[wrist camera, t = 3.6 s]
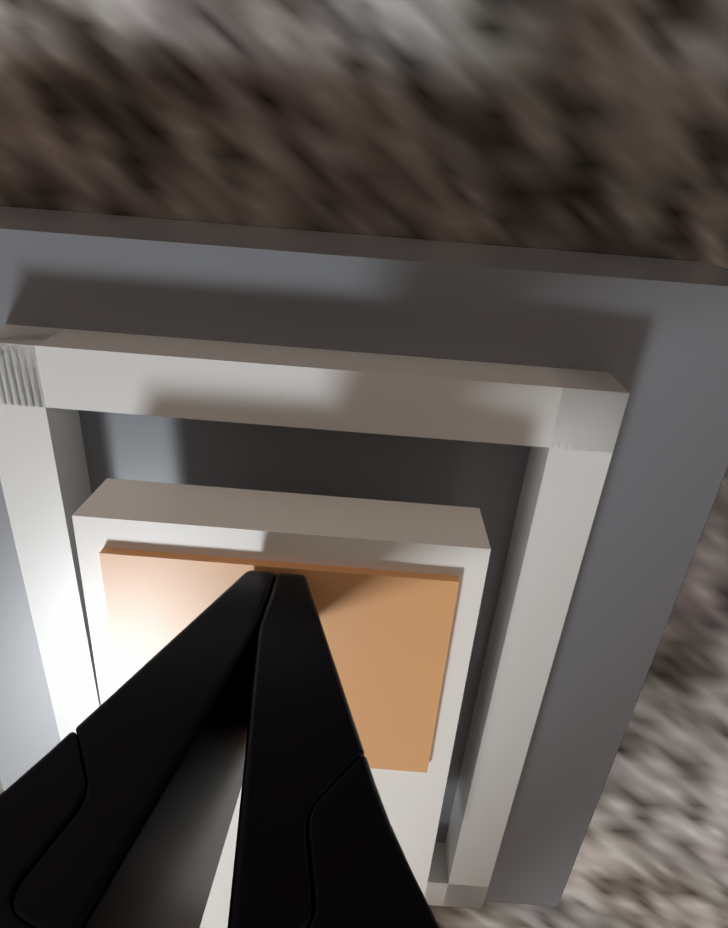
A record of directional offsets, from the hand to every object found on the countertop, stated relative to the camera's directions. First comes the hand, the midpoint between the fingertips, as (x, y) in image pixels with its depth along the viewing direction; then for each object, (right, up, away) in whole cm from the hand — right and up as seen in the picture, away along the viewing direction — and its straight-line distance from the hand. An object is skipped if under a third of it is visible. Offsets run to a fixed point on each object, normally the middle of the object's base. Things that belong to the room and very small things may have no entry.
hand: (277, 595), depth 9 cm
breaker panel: (0, -1, +7) cm, 7 cm away
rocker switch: (0, -3, +3) cm, 4 cm away
